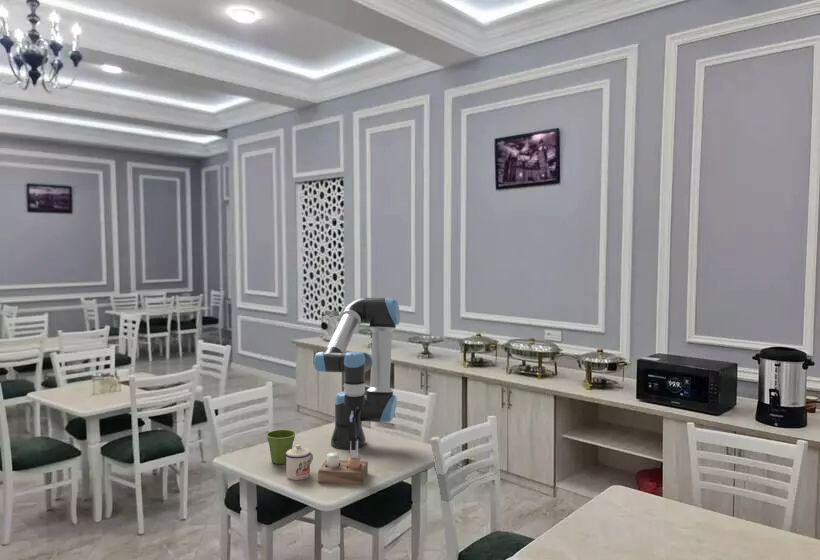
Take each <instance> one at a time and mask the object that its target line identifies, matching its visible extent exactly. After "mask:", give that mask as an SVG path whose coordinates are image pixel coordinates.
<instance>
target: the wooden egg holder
mask: <svg viewBox="0 0 820 560" xmlns="http://www.w3.org/2000/svg"><path fill="white" fill-rule="evenodd" d="M368 467H369V463H368V460H360V469H350V468H348V459H339V467H338V468H328V467H327V458H326V459H325V461H324V462H323V463H322V464H321V466H320V468H318V472H317V475H318V476H317V484H333V485H335V484H336V485H337V484H338V485H353V486H354V485H355V486H362V485H363V484H364V481H365V479H366V477H367V475H368V471H369V470H368V469H369V468H368Z"/></svg>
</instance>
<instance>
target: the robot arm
mask: <svg viewBox="0 0 820 560" xmlns="http://www.w3.org/2000/svg"><path fill="white" fill-rule="evenodd" d="M400 315H401V314H400V306H399V303H398V301H397V299H395V298H392V297H391V298H390V297H359V298H356V299H355V300H353V301H351V302H349V303H348V304H347V305H346V306H345V307H344V308H343V309H342V310H341V313H340V315H339V322H338V324H337V326H336V328H335V330H334V332H333V334H332V336H331V338H330V340H329V342H328V344H327V346H326V348H325V350H324V351H319V352H316V353H315V355H314V360H313V365H314V368H315V370H316V371H317V372H324V373H342V374H344V379H343V380H344V383H343V385H342V388H344V389H343V391H340V392H338V393H337V394H336V395H335V398H334V399H335V402H334V429H333V432H332V435H331V437H330V438H331V439H330V445H331V446H332V447H333V448H336V449H341V450H349V457H350V458H358V457H359V448H362V447H364V446H365V445H366V440H367V439H366V436H365V433H364V430H363V425H362V422H368V423H369V422H371V423H380V424H383V423H390V422H392V421H393V419H394V417H395V412H396V410H397V403H398V400H397V399H398V398H397V396H396V395H394V390H393V389H392V388H391V387H390V386H391V368H392V367H391V364H392V343H393V339H392V338H393V332H394V331H395V330H396V329H397V328H396V325H400V321H401V316H400ZM361 324H365V325H366V324H368V325H369V327H368V328H369V329H370V330H371V332H372V335H371V337H372V341H371V354H370V353H369V352H367V351H366V352H365V351H348V352H346V350H347V348H348V346H349V344H350V341H351V339H352V338H353V335H354V333H355V331H356V330H357V328H358V327H359V326H360V325H361ZM369 371H370V382H369V383H370V384H369V387H368V388H367V389H366V383H365V380H366V378H365V377H366V376H365V375H366V374H365V373H367V372H369Z"/></svg>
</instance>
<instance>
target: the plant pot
mask: <svg viewBox="0 0 820 560" xmlns="http://www.w3.org/2000/svg"><path fill="white" fill-rule="evenodd" d="M296 435H297V432H296V431H294V430H291V429H274V430H271V431H268V432H266V434H265V436H266V437H267V442H268V447H269V452H270V458H271V459H270V460H271V463H273V464H274V463H275V465H278V464H281V465H284V464H286V452H287V451H288V450H290V449H293V445H294V441H295V437H296Z"/></svg>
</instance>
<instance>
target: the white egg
mask: <svg viewBox="0 0 820 560" xmlns="http://www.w3.org/2000/svg"><path fill="white" fill-rule="evenodd" d="M326 459H327V467H328V468H338V467H339V460H340V454H339V453H338V452H329V453H327V454H326Z"/></svg>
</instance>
